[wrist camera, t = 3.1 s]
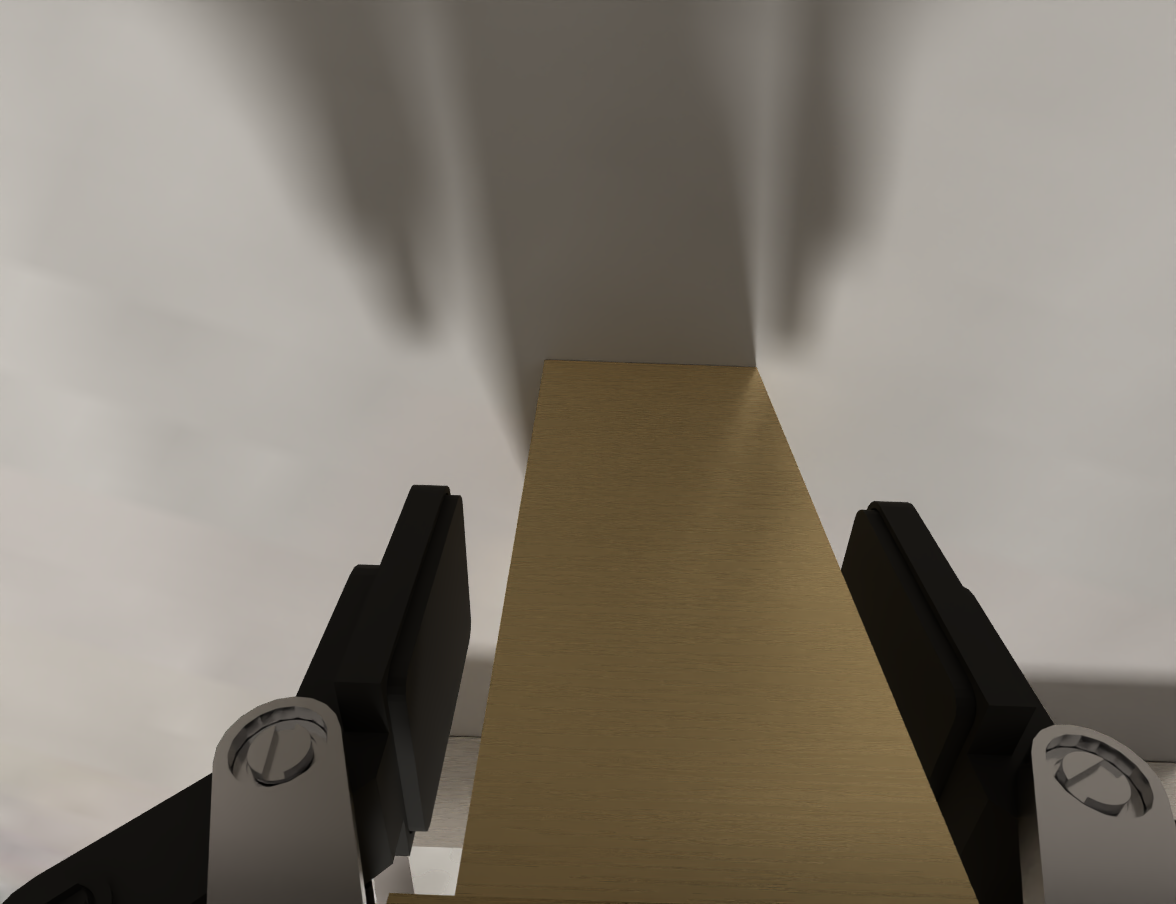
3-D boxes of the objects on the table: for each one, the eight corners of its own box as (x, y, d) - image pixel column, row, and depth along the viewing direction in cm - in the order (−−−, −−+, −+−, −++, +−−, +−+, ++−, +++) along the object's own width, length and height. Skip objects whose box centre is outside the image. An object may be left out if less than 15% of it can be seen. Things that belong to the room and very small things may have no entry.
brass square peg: (781, 348, 14) (1141, 1058, 5) (745, 550, 16) (929, 1273, 7) (523, 339, 14) (355, 1027, 5) (526, 543, 16) (424, 1254, 7)
